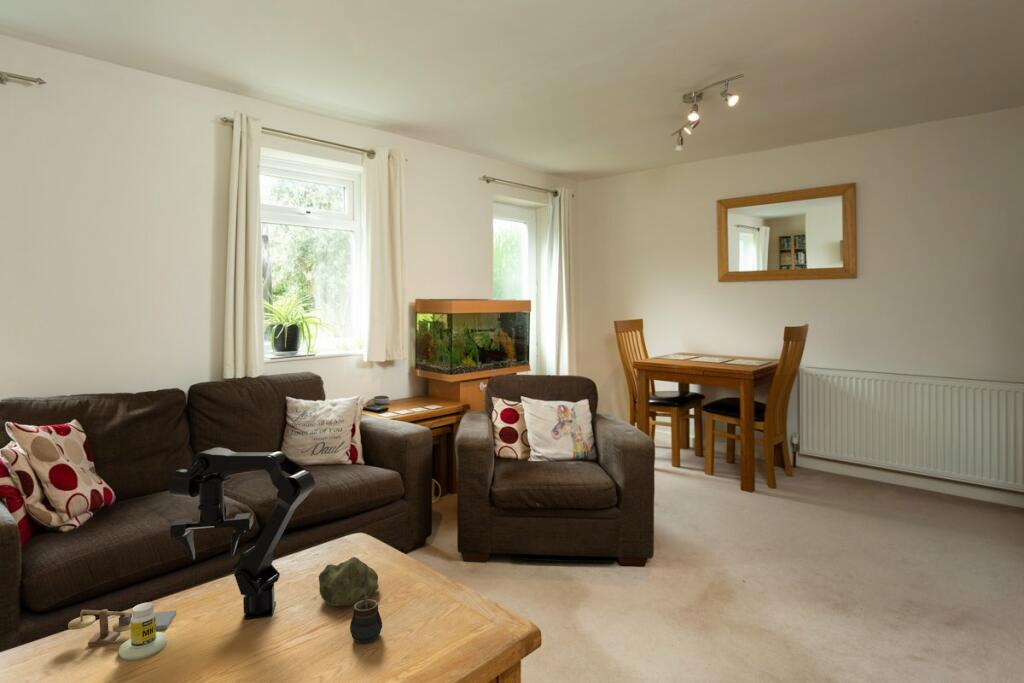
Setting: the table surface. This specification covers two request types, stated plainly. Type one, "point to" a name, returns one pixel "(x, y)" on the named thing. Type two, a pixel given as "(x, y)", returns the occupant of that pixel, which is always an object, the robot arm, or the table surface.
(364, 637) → the mate gourd
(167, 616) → the slate coaster
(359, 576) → the decorative rock
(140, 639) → the supplement bottle
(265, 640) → the table surface
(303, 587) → the table surface
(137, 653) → the sage dish
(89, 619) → the balance
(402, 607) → the table surface
